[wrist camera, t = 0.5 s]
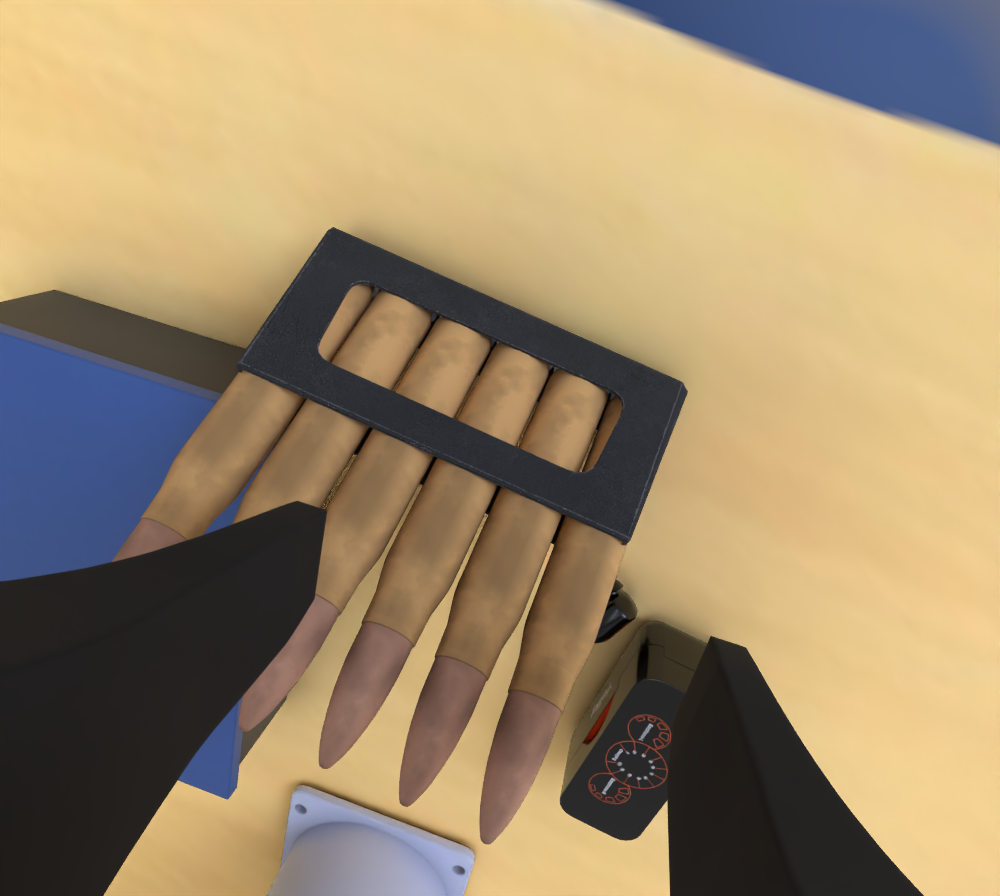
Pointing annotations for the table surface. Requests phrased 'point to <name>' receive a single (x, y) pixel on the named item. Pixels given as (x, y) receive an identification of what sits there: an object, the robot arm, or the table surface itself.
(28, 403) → the container
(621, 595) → the wireless earbuds
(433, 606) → the ammunition clip
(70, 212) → the table surface
